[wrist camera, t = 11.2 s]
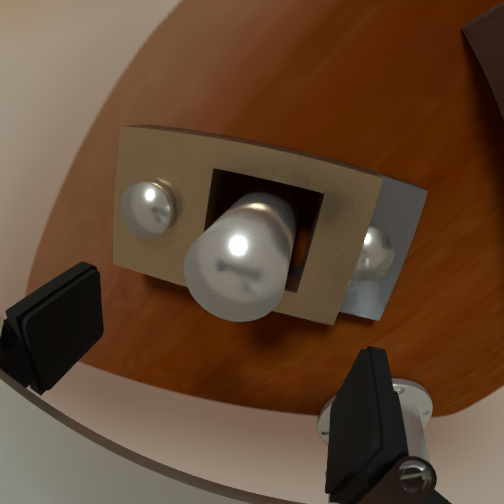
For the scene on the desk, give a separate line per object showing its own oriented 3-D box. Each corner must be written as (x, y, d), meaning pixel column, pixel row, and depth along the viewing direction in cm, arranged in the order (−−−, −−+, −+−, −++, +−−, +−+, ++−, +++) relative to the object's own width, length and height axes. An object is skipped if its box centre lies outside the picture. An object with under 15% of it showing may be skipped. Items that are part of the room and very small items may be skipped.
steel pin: (290, 250, 23) (272, 332, 14) (233, 236, 23) (180, 306, 14) (305, 193, 21) (296, 243, 12) (243, 178, 21) (189, 216, 12)
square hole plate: (418, 185, 19) (445, 201, 15) (375, 306, 23) (385, 345, 19) (150, 124, 21) (112, 126, 17) (139, 245, 25) (105, 269, 21)
